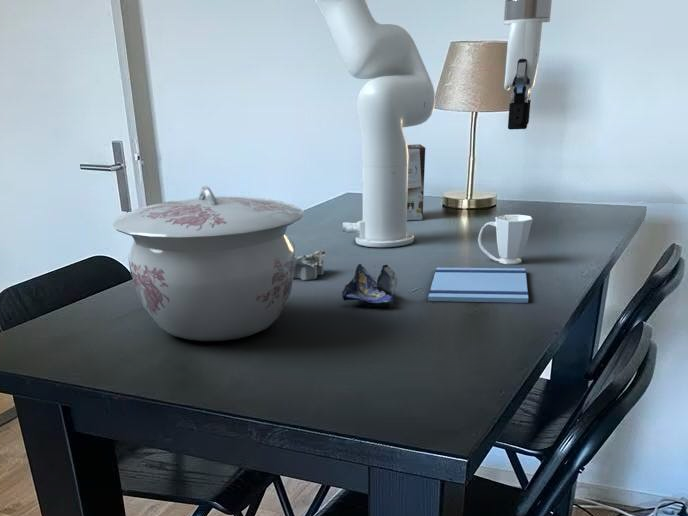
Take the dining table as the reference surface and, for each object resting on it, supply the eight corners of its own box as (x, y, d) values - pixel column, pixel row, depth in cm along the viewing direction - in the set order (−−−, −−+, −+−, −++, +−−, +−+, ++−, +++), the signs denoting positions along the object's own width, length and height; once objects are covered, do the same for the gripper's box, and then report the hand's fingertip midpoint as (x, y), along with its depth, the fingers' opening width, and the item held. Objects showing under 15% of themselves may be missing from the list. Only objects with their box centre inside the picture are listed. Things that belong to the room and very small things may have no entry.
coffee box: (423, 220, 192) (426, 147, 184) (397, 221, 193) (398, 148, 184) (419, 213, 200) (421, 143, 192) (393, 214, 200) (395, 144, 192)
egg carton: (328, 272, 151) (328, 250, 149) (310, 282, 145) (310, 259, 143) (279, 268, 155) (278, 246, 153) (260, 277, 149) (259, 255, 147)
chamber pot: (239, 370, 106) (225, 206, 96) (91, 342, 119) (65, 195, 109) (342, 314, 126) (340, 175, 116) (206, 296, 139) (193, 169, 129)
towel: (428, 301, 131) (428, 295, 131) (436, 271, 148) (436, 266, 148) (527, 303, 128) (528, 297, 127) (524, 272, 145) (525, 267, 144)
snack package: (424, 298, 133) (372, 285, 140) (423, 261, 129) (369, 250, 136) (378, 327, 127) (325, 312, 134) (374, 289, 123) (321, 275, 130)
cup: (523, 267, 148) (527, 222, 144) (471, 263, 153) (474, 219, 149) (533, 259, 154) (537, 215, 150) (482, 255, 158) (485, 212, 154)
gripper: (506, 16, 140) (499, 123, 149) (501, 12, 126) (493, 131, 134) (551, 13, 138) (541, 122, 147) (550, 9, 124) (539, 130, 133)
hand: (518, 126), depth 141 cm, fingers open, 9 cm apart
